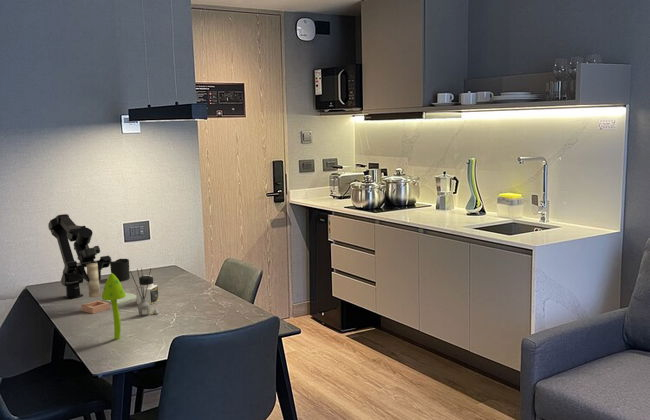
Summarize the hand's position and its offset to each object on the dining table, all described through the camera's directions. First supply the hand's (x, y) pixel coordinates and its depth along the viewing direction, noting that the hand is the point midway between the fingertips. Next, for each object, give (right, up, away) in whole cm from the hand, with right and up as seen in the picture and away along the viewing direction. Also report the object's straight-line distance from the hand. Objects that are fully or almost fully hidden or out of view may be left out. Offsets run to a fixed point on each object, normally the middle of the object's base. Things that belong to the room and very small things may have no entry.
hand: (94, 280), depth 267 cm
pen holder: (-7, -6, +55) cm, 56 cm away
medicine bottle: (+20, -11, +12) cm, 25 cm away
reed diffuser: (+24, -14, -6) cm, 28 cm away
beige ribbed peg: (-1, -7, +2) cm, 7 cm away
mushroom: (+21, -18, -35) cm, 45 cm away
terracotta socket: (0, -13, +3) cm, 13 cm away
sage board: (+6, -11, +18) cm, 22 cm away
